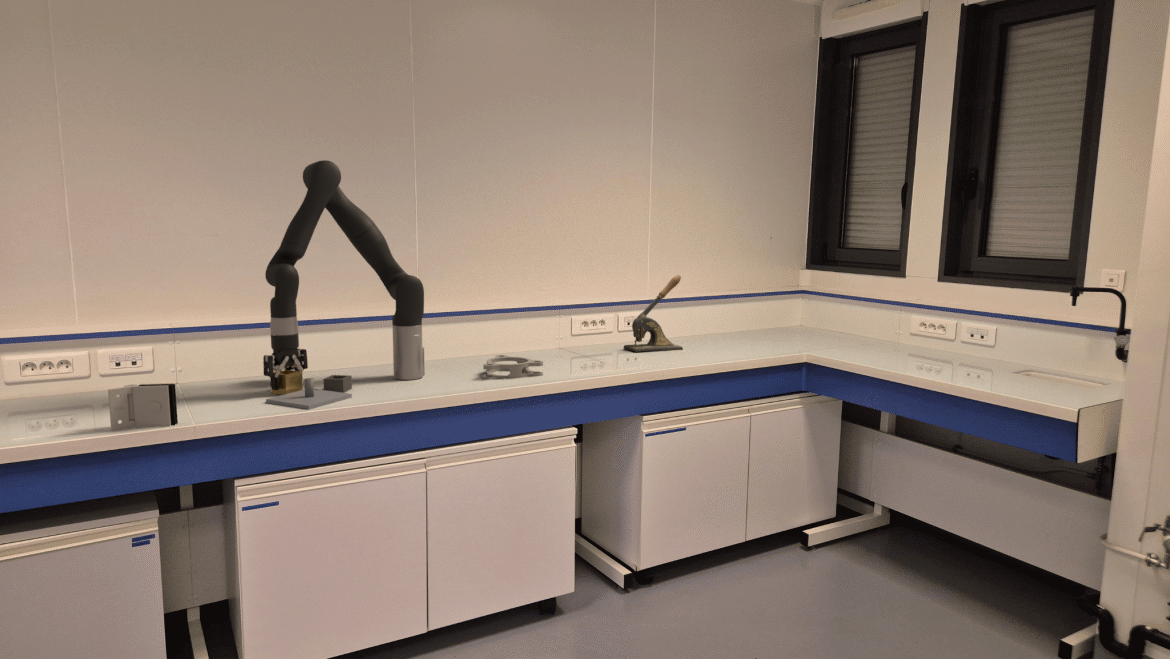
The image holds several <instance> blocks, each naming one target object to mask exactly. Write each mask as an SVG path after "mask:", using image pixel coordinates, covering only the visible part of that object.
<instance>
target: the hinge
mask: <svg viewBox="0 0 1170 659" xmlns="http://www.w3.org/2000/svg"><path fill="white" fill-rule="evenodd" d="M107 392H108V393H107V394H108V407H109V421H110V431H112V432H115V431H121V430H126V429H132V428H155V426H161V427H171V426H176V425H177V424H178V423H179V422H178V408H177V392H176V383H174V382H166V383H165V382H164V383H139V384H134V383H133V384H126V385H124V386H123V387H116V388H110V389H109V388H108V389H107ZM118 395H119V397H117V396H118ZM119 421H121V422H120V423H119ZM176 423H177V424H176ZM175 424H176V425H175ZM170 425H171V426H170Z"/></svg>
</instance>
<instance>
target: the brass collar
mask: <svg viewBox="0 0 1170 659" xmlns="http://www.w3.org/2000/svg"><path fill="white" fill-rule="evenodd" d="M278 377H279V390H272V388H271V387H270V388H271V394H275V395H279V396H281V395H285V394H289V393H293V392H297V391H301V390H304V388H303V381H302V379H303V372H302V371H294V370H282V371H280V373H279V375H278Z"/></svg>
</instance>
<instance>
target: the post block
mask: <svg viewBox="0 0 1170 659" xmlns="http://www.w3.org/2000/svg"><path fill="white" fill-rule="evenodd" d="M303 381H304V382H303V383H304V389H303V390H301V391H297V392H293V393H289V394H285V395H278V396H274V397H273V396H272V397H270V398H266V399H265V403H267V404H273V405H278V406H284V407H291V408H297V409H303V410H304V409H306V410H312V409H316V408H318V407H323V406H326V405H330V404H333V403H336V402H337V403H338V402H340V401H344V400H347V399H350V398H351V399H352V396H353V394H352V393H347V392H344V393H341V392H334V391H327V390H324V389H320V388H319V389H318V388H315V387H314V386H315V385H314V384H315V383H314V382H315V379H314V378H312V377H307V378H304V380H303Z"/></svg>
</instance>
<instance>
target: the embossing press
mask: <svg viewBox="0 0 1170 659" xmlns="http://www.w3.org/2000/svg"><path fill="white" fill-rule="evenodd" d="M681 277H682V276H681V275H680V274H677V275H675V276H673V277H672V278H671V279H670V280H669V281H668V283H667V284H666V286H664V288H663V289H662V290H661V291H660V292H659V293H658V295H657V296H656V297H655V298H654V300H653V301H652V302H651V303H650V304H649V305H648V306H647V307H646V308H645V309H644V311H642V312H641V313H639V315H638V316H637V317H636V318H634V320H633V321H632V324H631V328H632V331H633V333H632V334H633V335H632V336H633V337H634V338H635V340H634V344H624V345H623V348H622V349H624V350H627V351H632V352H636V353H637V352H655V351H656V352H657V351H658V352H659V351H677V350H684V348H683V346H681V345H678V344H675V343H673V342H672V341H670V339H668V337H667V336H666V334H664V331H663V329H662V326H661V325H660V324H659V323H658V322H657V321H656V320H654V319H653V318H651V317H649V316H648V317H647V315H649V313H650V312H652V310H653V309H654V308H655V307H656V305H658V303H659V302H660V301H661V300H663V299H664V298H666V296H667V295H668V294H669V293H670V292H671V291H672V290H673V289H674V288H676V286H678V284H680V282H681V279H682V278H681ZM647 333H649V334H650V338H649V340H648V342H647V343H641V342H642V341H643V339H644V338H645V337H646V334H647ZM637 343H639V344H637ZM640 343H641V344H640Z"/></svg>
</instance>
